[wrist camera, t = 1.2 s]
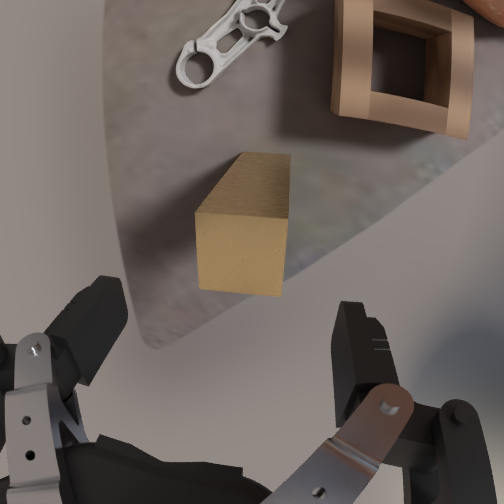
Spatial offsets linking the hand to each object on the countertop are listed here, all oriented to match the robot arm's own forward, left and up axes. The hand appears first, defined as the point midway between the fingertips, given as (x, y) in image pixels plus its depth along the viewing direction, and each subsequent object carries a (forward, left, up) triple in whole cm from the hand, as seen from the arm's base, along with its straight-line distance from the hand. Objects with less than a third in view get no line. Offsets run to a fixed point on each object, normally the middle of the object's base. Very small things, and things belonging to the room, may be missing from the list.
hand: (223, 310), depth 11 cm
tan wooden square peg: (0, 0, -18) cm, 18 cm away
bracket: (-14, -2, -18) cm, 23 cm away
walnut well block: (-11, +10, -18) cm, 23 cm away
